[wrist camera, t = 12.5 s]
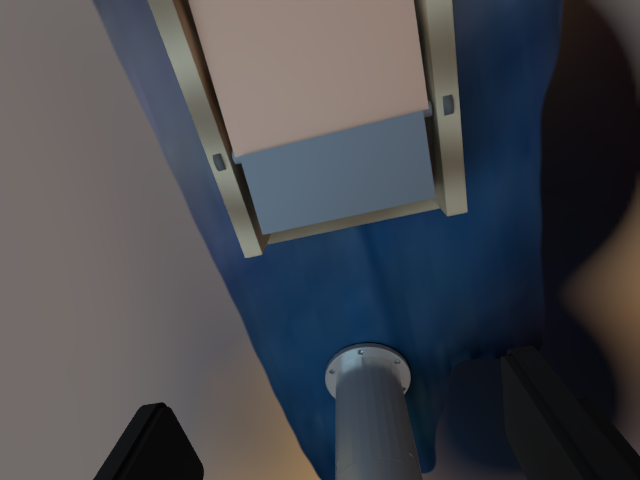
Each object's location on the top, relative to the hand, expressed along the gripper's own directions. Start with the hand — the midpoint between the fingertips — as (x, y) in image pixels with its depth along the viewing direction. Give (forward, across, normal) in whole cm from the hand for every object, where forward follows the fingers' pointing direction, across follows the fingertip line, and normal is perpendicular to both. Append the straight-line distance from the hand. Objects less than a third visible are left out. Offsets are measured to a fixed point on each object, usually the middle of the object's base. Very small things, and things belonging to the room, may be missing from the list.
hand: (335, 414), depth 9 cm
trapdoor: (+22, -1, -8) cm, 23 cm away
